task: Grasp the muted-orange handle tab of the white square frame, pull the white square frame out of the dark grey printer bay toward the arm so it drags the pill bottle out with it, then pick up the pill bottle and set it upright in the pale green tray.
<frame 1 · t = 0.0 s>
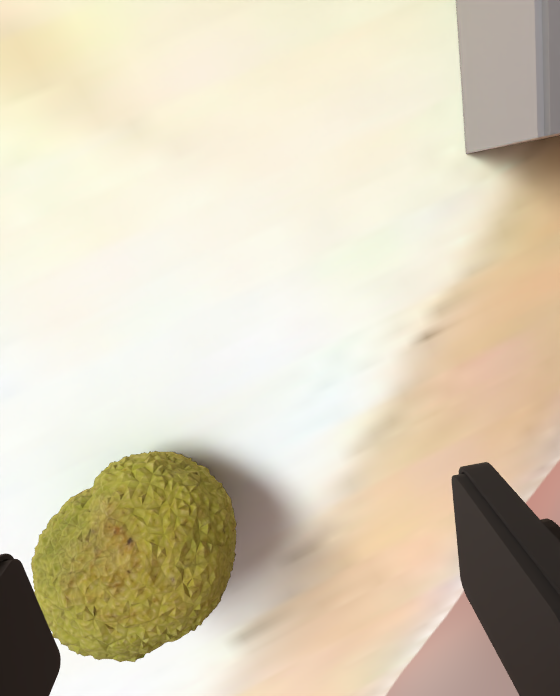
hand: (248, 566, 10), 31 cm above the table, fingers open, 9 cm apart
fruit: (157, 501, 46), on the table
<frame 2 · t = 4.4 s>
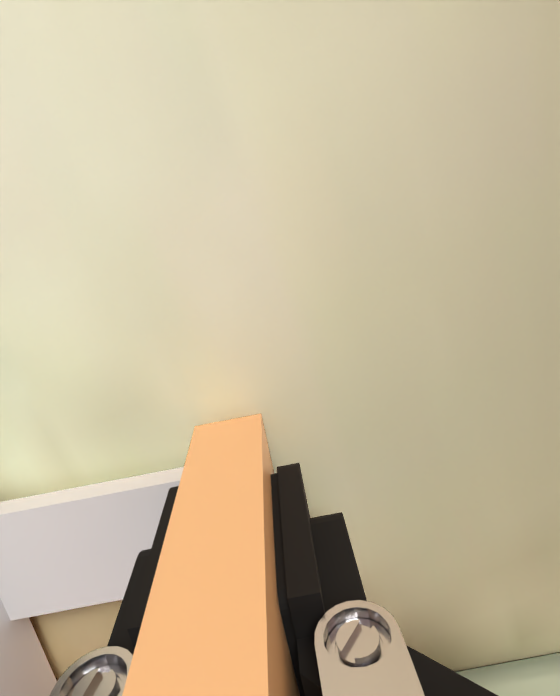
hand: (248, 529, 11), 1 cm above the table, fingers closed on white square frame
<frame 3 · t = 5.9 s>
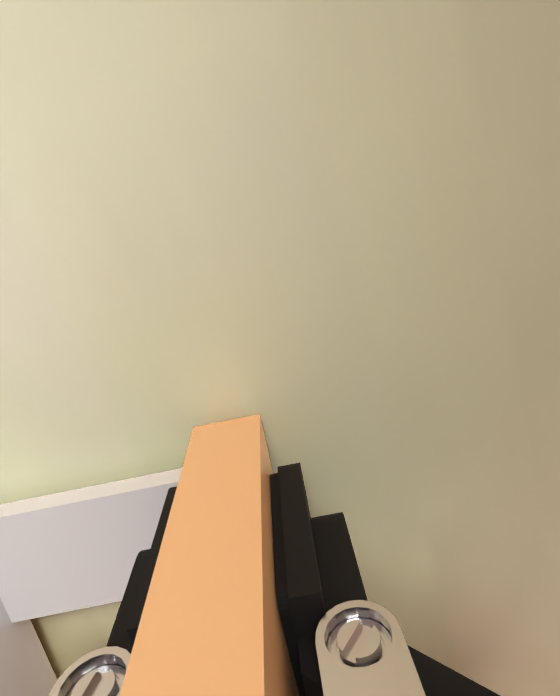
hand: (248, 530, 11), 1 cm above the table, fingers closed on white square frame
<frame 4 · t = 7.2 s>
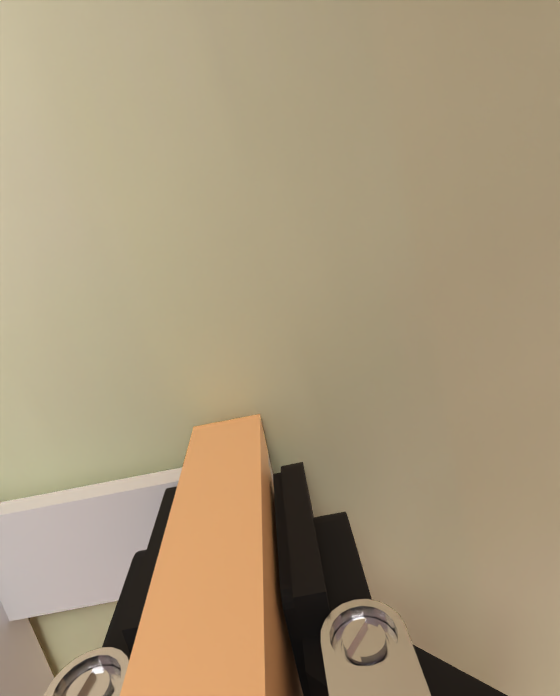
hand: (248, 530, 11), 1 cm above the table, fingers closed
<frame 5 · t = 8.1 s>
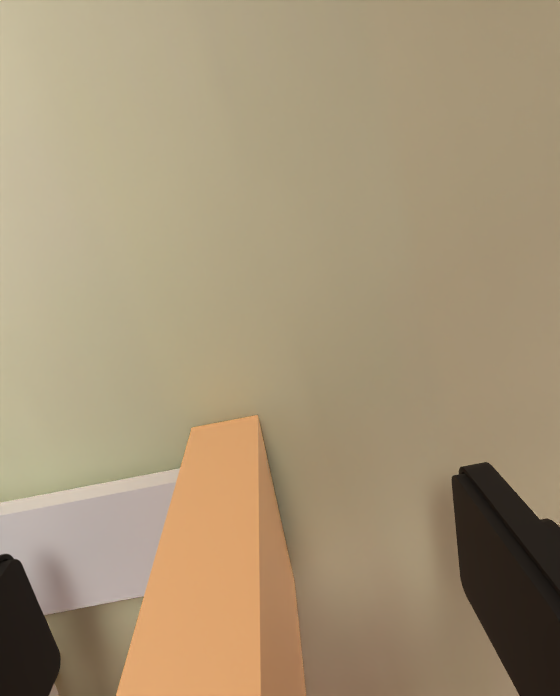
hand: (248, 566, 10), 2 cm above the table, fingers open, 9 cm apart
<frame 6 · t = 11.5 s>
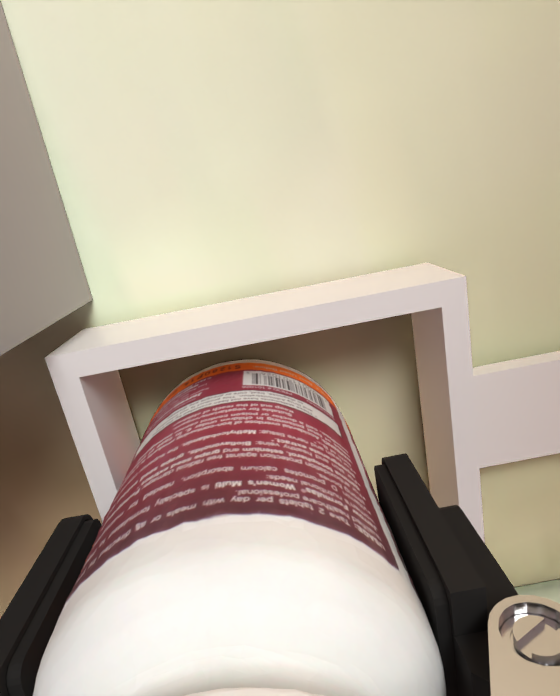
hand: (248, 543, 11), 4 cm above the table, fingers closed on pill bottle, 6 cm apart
pill bottle: (250, 445, 15), resting in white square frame, touching gripper
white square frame: (447, 494, 11), point 4 cm above the table, slide at 9.9 cm
when the fingers open (6 cm above the table, at t = 16.2 s): pill bottle drops 1 cm, resting on tray.
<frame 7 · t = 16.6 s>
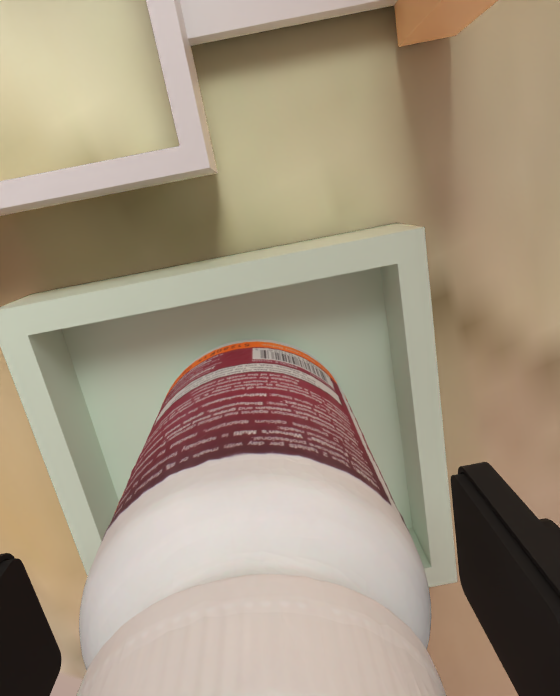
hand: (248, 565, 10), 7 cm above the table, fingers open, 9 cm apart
pill bottle: (257, 420, 16), resting on tray
tray: (250, 424, 17), on the table
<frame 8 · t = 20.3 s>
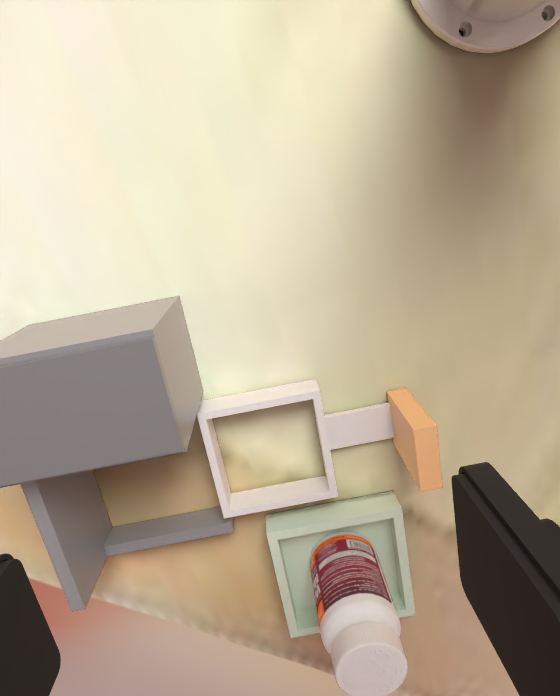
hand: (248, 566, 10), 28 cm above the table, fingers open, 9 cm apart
pill bottle: (342, 555, 44), resting on tray
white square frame: (316, 454, 37), point 4 cm above the table, slide at 9.9 cm
tray: (339, 555, 45), on the table
printer bay: (154, 462, 41), on the table
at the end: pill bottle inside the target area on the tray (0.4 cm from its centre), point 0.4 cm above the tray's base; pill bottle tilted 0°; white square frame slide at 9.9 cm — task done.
